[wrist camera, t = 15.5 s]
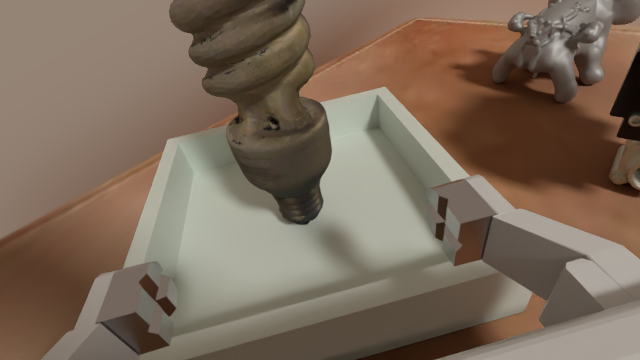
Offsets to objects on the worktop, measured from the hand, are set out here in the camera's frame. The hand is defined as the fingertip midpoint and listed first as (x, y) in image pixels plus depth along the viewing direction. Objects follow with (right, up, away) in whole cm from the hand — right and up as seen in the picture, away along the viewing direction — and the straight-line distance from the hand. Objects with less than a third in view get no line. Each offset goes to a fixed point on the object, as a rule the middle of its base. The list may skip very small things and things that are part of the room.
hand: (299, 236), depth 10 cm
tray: (0, -1, +12) cm, 12 cm away
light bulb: (-1, -1, +11) cm, 11 cm away
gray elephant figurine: (+23, +12, +22) cm, 34 cm away
